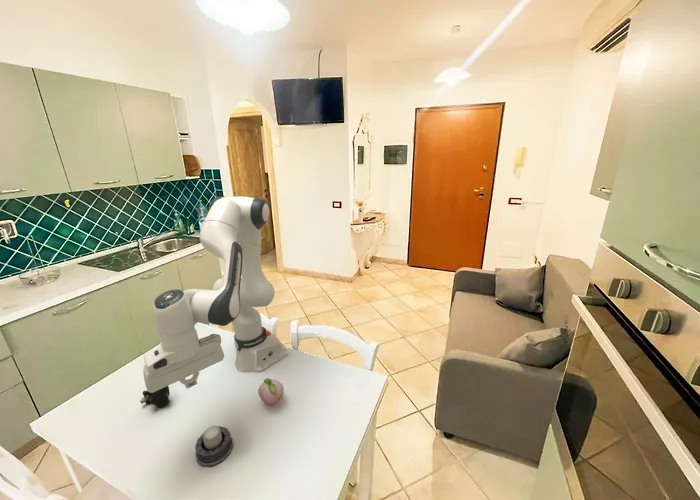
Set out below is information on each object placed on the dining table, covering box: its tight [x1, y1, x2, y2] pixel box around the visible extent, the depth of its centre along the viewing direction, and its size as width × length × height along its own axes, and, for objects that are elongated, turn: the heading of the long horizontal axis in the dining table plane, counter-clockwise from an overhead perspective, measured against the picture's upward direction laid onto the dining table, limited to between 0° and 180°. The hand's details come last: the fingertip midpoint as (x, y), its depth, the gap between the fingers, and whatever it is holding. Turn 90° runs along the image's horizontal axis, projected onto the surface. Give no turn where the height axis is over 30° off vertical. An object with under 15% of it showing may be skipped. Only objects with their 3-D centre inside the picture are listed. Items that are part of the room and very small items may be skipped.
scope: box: [139, 385, 171, 410], centre depth 106 cm, size 8×14×10 cm
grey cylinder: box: [202, 425, 223, 451], centre depth 89 cm, size 5×5×6 cm
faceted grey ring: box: [194, 425, 234, 468], centre depth 90 cm, size 10×10×4 cm
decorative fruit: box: [257, 377, 285, 406], centre depth 106 cm, size 9×8×10 cm
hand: (191, 385), depth 87 cm, fingers closed
